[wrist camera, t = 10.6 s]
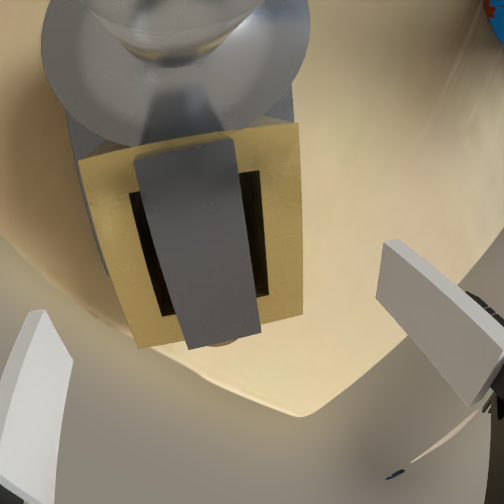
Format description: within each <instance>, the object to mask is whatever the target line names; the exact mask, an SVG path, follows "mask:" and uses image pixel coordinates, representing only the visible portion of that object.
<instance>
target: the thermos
mask: <svg viewBox="0 0 504 504" xmlns="http://www.w3.org/2000/svg"><path fill="white" fill-rule="evenodd" d="M483 1H484V7H485V10H486V13H487V16H488V19H489V22H490V24H491V26H492V28H493V30H494V32H495V34H496V35H497V37H498V38H499V39H500V41H501V42H502V43H503V44H504V0H483Z"/></svg>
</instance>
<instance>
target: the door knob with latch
mask: <svg viewBox="0 0 504 504" xmlns="http://www.w3.org/2000/svg"><path fill="white" fill-rule="evenodd" d="M309 32H310V13H309V7H308V2H307V0H51V1H50V3H49V5H48V8H47V12H46V15H45V18H44V22H43V28H42V35H41V54H42V61H43V67H44V70H45V73H46V77H47V80H48V82H49V84H50V86H51V88H52V90H53V92H54V94H55V96H56V97H57V99H58V100H59V102H60V103H61V104H62V106H63V107H64V108H65V110H66V116H67V122H68V128H69V133H70V139H71V144H72V149H73V154H74V159H75V163H76V168H77V172H78V177H79V181H80V185H81V189H82V193H83V197H84V201H85V205H86V208H87V212H88V216H89V219H90V223H91V226H92V230H93V233H94V236H95V240H96V243H97V246H98V249H99V252H100V255H101V259H102V262H103V265H104V267H105V270H106V273H107V276H110V277H111V280H112V283H113V286H114V289H115V291H116V294H117V297H118V299H119V302H120V305H121V307H122V310H123V313H124V315H125V318H126V320H127V323H128V325H129V328H130V330H131V332H132V335H133V337H134V340H135V342H136V344H137V347H138V348H145V347H151V346H157V345H163V344H168V343H174V342H179V341H185V339H184V336H183V333H182V330H181V327H180V324H179V322H178V319H177V316H176V313H175V310H174V307H173V304H172V301H171V298H170V295H169V292H168V288H167V285H166V282H165V279H164V276H163V273H162V269H161V266H160V263H159V259H158V256H157V253H156V249H155V246H154V242H153V239H152V235H151V232H150V228H149V224H148V221H147V217H146V213H145V209H144V205H143V202H142V198H141V194H140V190H139V185H138V181H137V177H136V173H135V169H134V164H133V160H134V158H135V157H136V155H138V154H142V153H146V152H150V151H154V150H158V149H163V148H167V147H171V146H176V145H181V144H185V143H190V142H195V141H200V140H205V139H211V138H216V137H222V136H229V137H230V138H232V139H233V140H234V145H235V152H236V159H237V166H238V173H239V180H240V187H241V194H242V201H243V208H244V215H245V222H246V229H247V236H248V243H249V250H250V257H251V264H252V271H253V277H254V284H255V291H256V298H257V305H258V312H259V319H260V325H261V324H265V323H270V322H274V321H278V320H282V319H286V318H290V317H294V316H298V315H302V314H303V235H302V194H301V167H300V146H299V127H298V123H294V113H293V98H292V85H291V83H292V82H293V80H294V78H295V76H296V75H297V73H298V71H299V69H300V67H301V64H302V62H303V59H304V57H305V53H306V49H307V45H308V41H309ZM236 340H237V339H234V340H230V341H226V342H221V343H217V344H213V345H208V346H211V347H218V346H224V345H227V344H230V343H232V342H234V341H236Z"/></svg>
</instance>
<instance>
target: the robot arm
mask: <svg viewBox="0 0 504 504" xmlns="http://www.w3.org/2000/svg"><path fill="white" fill-rule="evenodd" d="M376 299H377V300H378V301H379V302H380V303H381V305H382V306H383V307H384V308H385V309H386V310H387V311H388V312H389V314H390V315H391V316H392V317H393V318H394V319H395V320H396V321H397V323H398V324H399V325H400V326H401V327H402V328H403V330H404V331H405V332H406V333H407V334H408V335H409V336H410V338H411V339H412V340H413V341H414V342H415V343H416V345H417V346H418V347H419V348H420V349H421V351H422V352H423V353H424V354H425V355H426V356H427V358H428V359H429V360H430V361H431V362H432V364H433V365H434V366H435V367H436V369H437V370H438V371H439V372H440V373H441V375H442V376H443V377H444V378H445V380H446V381H447V382H448V383H449V385H450V386H451V387H452V388H453V390H454V391H455V392H456V393H457V394H458V396H459V397H460V398H461V400H462V401H463V402H464V403H465V405H466V406H467V407H468V408H469V407H471V406H472V405H474V404H475V403H477V402H478V401H479V400H481V399H482V398H483V397H484V395H485V394H486V392H487V391H488V389H489V388H490V387H491V388H492V389H493V391H494V392H493V393H492V395H491V396H490V398H489V399H488V401H487V402H486V404H485V405H484V406H483V410H482V412H483V413H484V412H485V411H486V410H487V408H488V407H489V406H490V404H491V408H490V409H489V411H488V413H491V441H490V458H489V459H490V460H489V471H488V480H487V488H486V495H485V502H484V504H504V319H503V318H501V317H500V316H499V315H498V314H496V312H495V311H494V310H493V309H491V308H489V307H488V305H487V304H486V303H485V302H484V301H482V300H481V299H480V298H479V297H477V296H475V295H473V294H471V293H469V292H467V291H466V292H464V291H463V290H462V289H460V288H459V287H458V286H457V285H456V284H454V283H453V282H452V281H451V280H450V279H449V278H447V277H446V276H445V275H444V274H442V273H441V272H440V271H439V270H438V269H436V268H435V267H434V266H433V265H431V264H430V263H429V262H428V261H426V260H425V259H424V258H423V257H421V256H420V255H419V254H418V253H416V252H415V251H414V250H412V249H411V248H410V247H408V246H407V245H406V244H405V243H403V242H402V241H401V240H399V239H395V240H390V241H386V242H383V250H382V258H381V265H380V273H379V279H378V286H377V292H376ZM72 365H73V359H72V358H71V356H70V354H69V353H68V351H67V349H66V347H65V346H64V344H63V342H62V340H61V339H60V337H59V335H58V333H57V331H56V330H55V328H54V326H53V324H52V322H51V320H50V318H49V316H48V314H47V312H46V310H45V309H40V310H34V311H29V313H28V315H27V317H26V319H25V321H24V323H23V326H22V328H21V330H20V332H19V335H18V337H17V339H16V342H15V344H14V346H13V349H12V351H11V354H10V356H9V359H8V361H7V364H6V367H5V369H4V372H3V375H2V377H1V380H0V504H23V503H24V501H26V502H27V503H29V504H54V494H55V477H56V465H57V456H58V447H59V439H60V431H61V425H62V418H63V412H64V406H65V400H66V395H67V389H68V384H69V379H70V375H71V369H72Z"/></svg>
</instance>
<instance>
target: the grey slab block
mask: <svg viewBox="0 0 504 504" xmlns="http://www.w3.org/2000/svg"><path fill="white" fill-rule="evenodd" d="M133 164H134V169H135V173H136V177H137V181H138V185H139V190H140V194H141V198H142V202H143V205H144V209H145V213H146V217H147V221H148V224H149V228H150V232H151V235H152V239H153V242H154V246H155V249H156V253H157V256H158V259H159V263H160V266H161V269H162V273H163V276H164V279H165V282H166V285H167V288H168V292H169V295H170V298H171V301H172V304H173V307H174V310H175V313H176V316H177V319H178V322H179V324H180V327H181V330H182V333H183V336H184V339H185V341H186V344H187V347H188V350H191V349H195V348H200V347H204V346H208V345H213V344H217V343H221V342H226V341H230V340H234V339H238V338H242V337H246V336H250V335H254V334H258V333H261V326H260V319H259V312H258V305H257V298H256V291H255V284H254V277H253V271H252V264H251V257H250V250H249V243H248V236H247V229H246V222H245V215H244V208H243V201H242V194H241V187H240V180H239V173H238V166H237V159H236V152H235V145H234V140H233V139H232V138H230V137H229V136H222V137H216V138H211V139H205V140H200V141H195V142H190V143H185V144H181V145H176V146H171V147H167V148H163V149H158V150H154V151H150V152H146V153H142V154H138V155H136V157H135V158H134V160H133Z"/></svg>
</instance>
